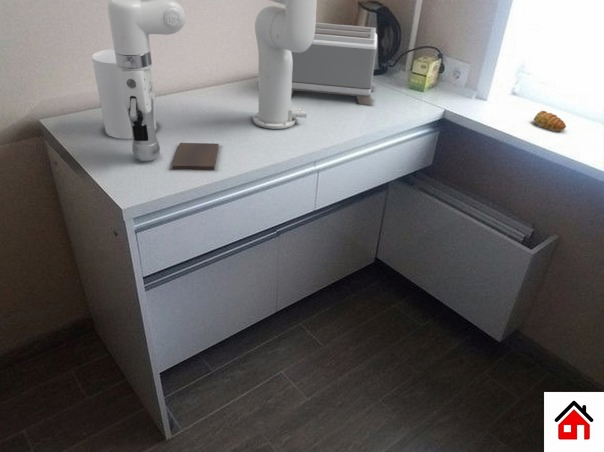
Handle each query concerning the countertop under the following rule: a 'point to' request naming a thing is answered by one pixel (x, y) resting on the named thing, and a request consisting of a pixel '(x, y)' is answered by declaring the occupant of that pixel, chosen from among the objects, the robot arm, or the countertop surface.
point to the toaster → (337, 62)
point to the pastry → (549, 121)
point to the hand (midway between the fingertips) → (144, 134)
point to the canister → (112, 95)
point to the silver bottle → (151, 147)
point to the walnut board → (196, 156)
